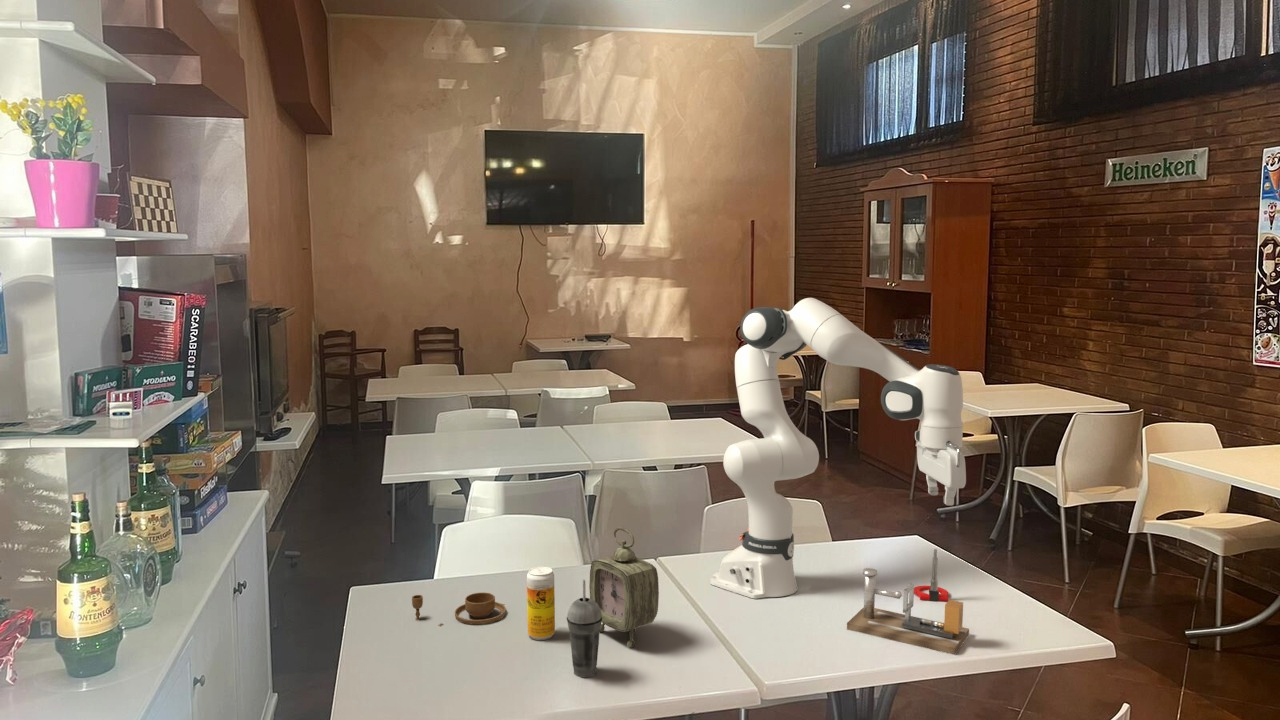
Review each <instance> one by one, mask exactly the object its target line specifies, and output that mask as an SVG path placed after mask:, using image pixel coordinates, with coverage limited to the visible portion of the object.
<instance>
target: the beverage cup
mask: <svg viewBox="0 0 1280 720" xmlns="http://www.w3.org/2000/svg"><path fill="white" fill-rule="evenodd" d="M601 621H602V614H601V610H600V607H599V605H598V604H597V603H596V602H595V601H594V600H592V599H590V597H586V579H582V597H579V598H578V599H575V601H573V602H572V603H571V605H570V606H569V608H568V610H567V616H566V622H567V626H568V630H569V640H570V649H571V650H570V651H571V659H572V660H571V661H572V666H573V674H574V675H575V676H576V677H580V678H589V677H593V676H594V675H595V674H596V672H597V665H598V655H599V643H600V633H601V632H600V627H601V624H602V622H601Z"/></svg>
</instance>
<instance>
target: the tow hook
mask: <svg viewBox="0 0 1280 720" xmlns="http://www.w3.org/2000/svg"><path fill="white" fill-rule="evenodd" d="M938 561H939V560H938V549H937V548H934V549H933V557H932V562H931V563H932V565H931V566H932V568H931V579H930V585H917V586H914V595H916V596H918V597H919V600H920V601H921V600H922V601H929V602H931V601H932V602H948V601H949V591H948V590H947V589H945V588H943V587H939V585H938V584H939V580H938ZM923 591H928V593H927V592H923Z"/></svg>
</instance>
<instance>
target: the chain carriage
mask: <svg viewBox="0 0 1280 720" xmlns="http://www.w3.org/2000/svg"><path fill="white" fill-rule="evenodd" d="M914 588H915V583H913V582H911V583H909V584H908V585H906V587H905V588H904V589H903V595H902V596H903V597H902V600H903V601H902V614H903V613H904V615H905V621H904V622H903V623H902V627H903V628H907V629H911V630H916V631H920V632H925V633H929V634H933V635H938V636H942V637H946V638H951V639H953V637H954V636H955V635H956V634H959V632H960V631H961V630H962V627H963V622H964V621H963V619H964V618H963V616H964V602H962V601H958V600H952V599H948V601H946V603H945V605H944V619H943V620H944V622H941V623H940V621H936V620H932V619H931V620H932V621H931V620H930V619H926V618H923V619H922V617H918V616H913V615H912V608H913V607H914V604H915V603H914V602H915V601H914V600H915V599H914V598H915V594H914ZM917 617H918V618H917Z"/></svg>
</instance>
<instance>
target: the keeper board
mask: <svg viewBox="0 0 1280 720" xmlns="http://www.w3.org/2000/svg"><path fill="white" fill-rule="evenodd" d="M863 616H864V606H863V607H862V608H861V609H860V610H859V611H858V612H857V613H856V614H855V615H854V616H852V617H851V619H849V620H848V621H847V622H846V630H848V631H853V632H858V633H861V634H865V635H870V636H874V637H878V638H883V639H887V640H890V641H896V642H900V643H903V644H908V645H912V646H917V647H920V648H925V649H929V650H932V651H938V652H941V651H942V652H941V653H945V652H946V654H949V653H950V655H956V653H958V651H959V650H960V648H961V647H962V645H963V644H964V643H963V642H965V641H966V640H967V639H968V637H969V636H970V628H967V627H963V626H962V630H961V631H960V632H959V634H956V635H955V636H954V637H953V639H951V638H946V637H942V636H938V635H933V634H929V633H925V632H920V631H916V630H911V629H907V628H903V627H902V623H903V622H904V621H905V613H904V614H903V613H900V612H893V611H890V610H886V609H881V608H877V607H874V618H873V619H866V618H864V617H863ZM916 617H917V618H919V617H918V616H916ZM921 618H922V617H921ZM922 619H924V618H922ZM931 621H933V620H932V619H931ZM939 622H940V621H939ZM940 623H942V622H940ZM958 649H959V650H958Z"/></svg>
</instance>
